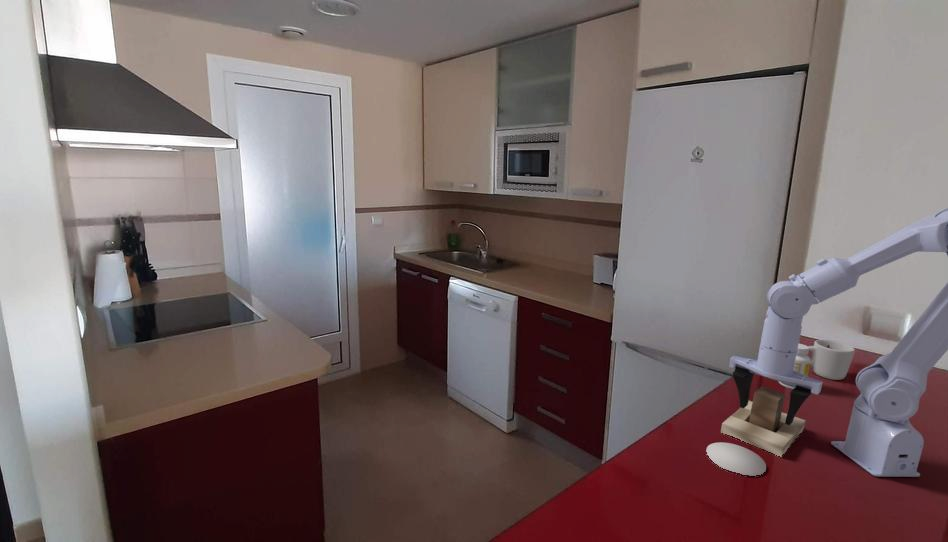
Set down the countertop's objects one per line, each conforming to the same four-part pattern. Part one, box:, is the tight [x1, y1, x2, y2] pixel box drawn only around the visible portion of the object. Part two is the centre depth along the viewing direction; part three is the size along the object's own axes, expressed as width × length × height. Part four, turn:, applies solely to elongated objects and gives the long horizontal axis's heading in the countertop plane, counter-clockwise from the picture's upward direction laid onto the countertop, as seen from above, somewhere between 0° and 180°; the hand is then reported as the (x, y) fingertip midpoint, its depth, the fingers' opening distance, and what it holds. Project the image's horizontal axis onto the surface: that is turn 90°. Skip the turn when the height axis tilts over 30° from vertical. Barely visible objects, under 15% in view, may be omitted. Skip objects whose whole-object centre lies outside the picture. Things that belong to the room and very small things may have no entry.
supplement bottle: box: [778, 343, 811, 390], centre depth 109 cm, size 5×5×10 cm
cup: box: [807, 339, 856, 381], centre depth 116 cm, size 11×8×8 cm
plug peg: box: [749, 386, 786, 433], centre depth 89 cm, size 4×4×8 cm
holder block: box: [720, 400, 806, 458], centre depth 89 cm, size 10×14×2 cm
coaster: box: [705, 441, 767, 477], centre depth 80 cm, size 9×9×1 cm
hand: (765, 414), depth 89 cm, fingers open, 7 cm apart
